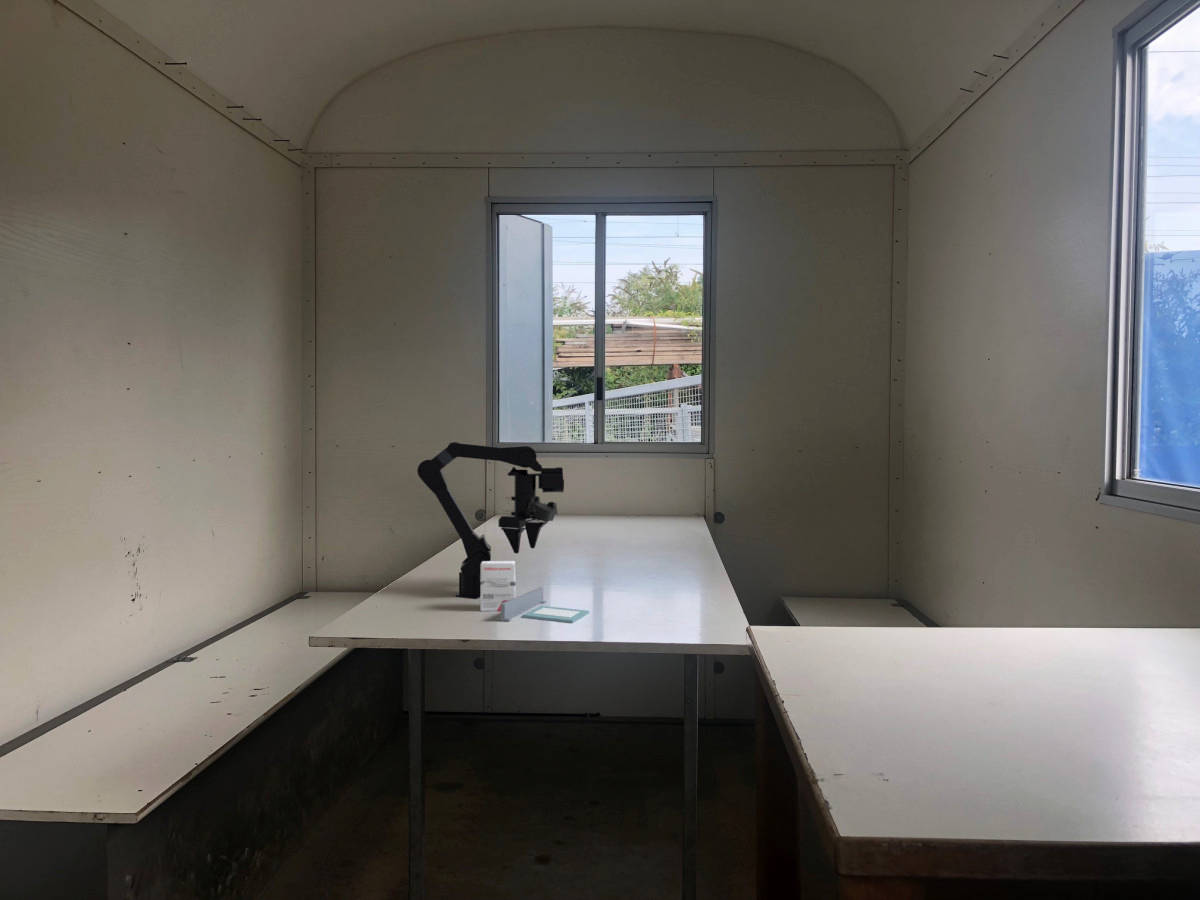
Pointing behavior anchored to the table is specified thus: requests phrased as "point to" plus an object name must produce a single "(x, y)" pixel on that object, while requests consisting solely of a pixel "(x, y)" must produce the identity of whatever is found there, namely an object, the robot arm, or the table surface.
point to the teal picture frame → (556, 614)
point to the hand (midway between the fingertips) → (524, 550)
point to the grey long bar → (521, 604)
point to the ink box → (496, 584)
